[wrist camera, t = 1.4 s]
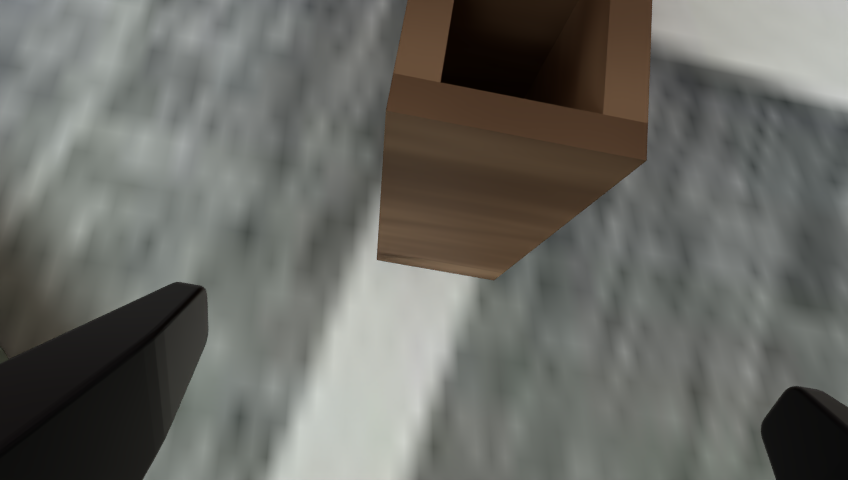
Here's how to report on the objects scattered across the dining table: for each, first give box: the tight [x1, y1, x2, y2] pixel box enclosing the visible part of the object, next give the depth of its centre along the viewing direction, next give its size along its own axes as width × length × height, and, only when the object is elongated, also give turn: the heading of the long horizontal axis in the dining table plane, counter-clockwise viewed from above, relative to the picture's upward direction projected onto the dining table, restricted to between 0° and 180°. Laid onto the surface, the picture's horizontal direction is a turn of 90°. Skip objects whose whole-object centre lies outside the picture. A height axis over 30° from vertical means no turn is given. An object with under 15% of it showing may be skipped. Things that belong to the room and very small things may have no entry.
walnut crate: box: [377, 0, 652, 280], centre depth 16 cm, size 6×5×12 cm
